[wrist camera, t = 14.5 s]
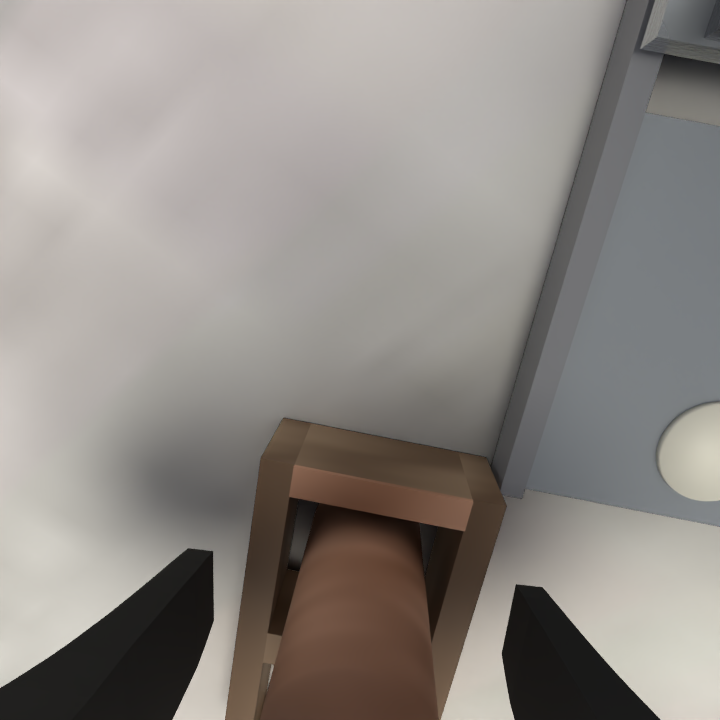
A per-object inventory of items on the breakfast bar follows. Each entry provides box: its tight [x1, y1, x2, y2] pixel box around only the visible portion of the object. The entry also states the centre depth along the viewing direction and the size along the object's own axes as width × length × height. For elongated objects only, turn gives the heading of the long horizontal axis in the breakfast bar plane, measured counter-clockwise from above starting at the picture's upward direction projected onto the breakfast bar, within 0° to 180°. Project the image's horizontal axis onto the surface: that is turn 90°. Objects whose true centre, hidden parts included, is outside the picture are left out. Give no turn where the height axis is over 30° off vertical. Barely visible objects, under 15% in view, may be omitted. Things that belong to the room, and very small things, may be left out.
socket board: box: [225, 418, 507, 720], centre depth 13 cm, size 6×11×2 cm, turn 170°
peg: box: [260, 503, 439, 720], centre depth 11 cm, size 3×3×6 cm
